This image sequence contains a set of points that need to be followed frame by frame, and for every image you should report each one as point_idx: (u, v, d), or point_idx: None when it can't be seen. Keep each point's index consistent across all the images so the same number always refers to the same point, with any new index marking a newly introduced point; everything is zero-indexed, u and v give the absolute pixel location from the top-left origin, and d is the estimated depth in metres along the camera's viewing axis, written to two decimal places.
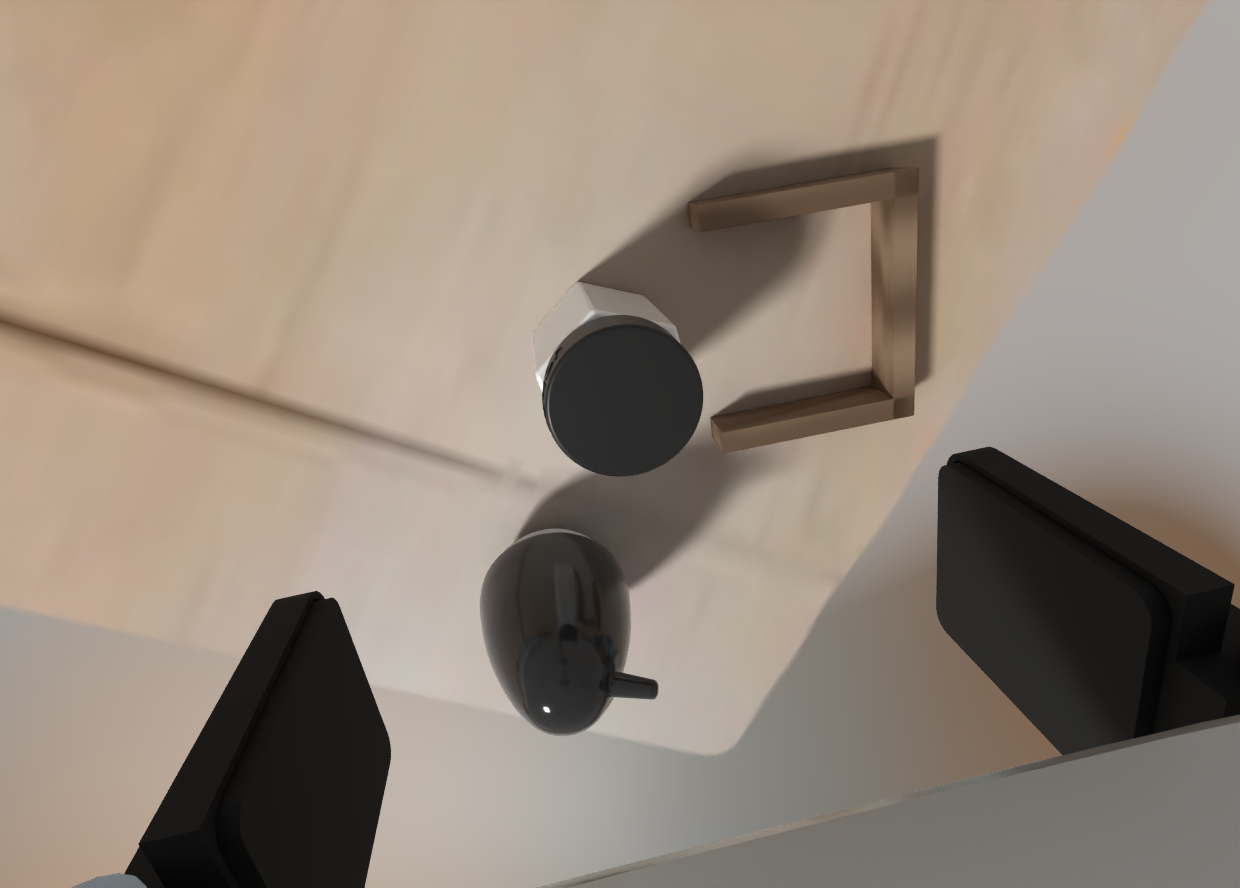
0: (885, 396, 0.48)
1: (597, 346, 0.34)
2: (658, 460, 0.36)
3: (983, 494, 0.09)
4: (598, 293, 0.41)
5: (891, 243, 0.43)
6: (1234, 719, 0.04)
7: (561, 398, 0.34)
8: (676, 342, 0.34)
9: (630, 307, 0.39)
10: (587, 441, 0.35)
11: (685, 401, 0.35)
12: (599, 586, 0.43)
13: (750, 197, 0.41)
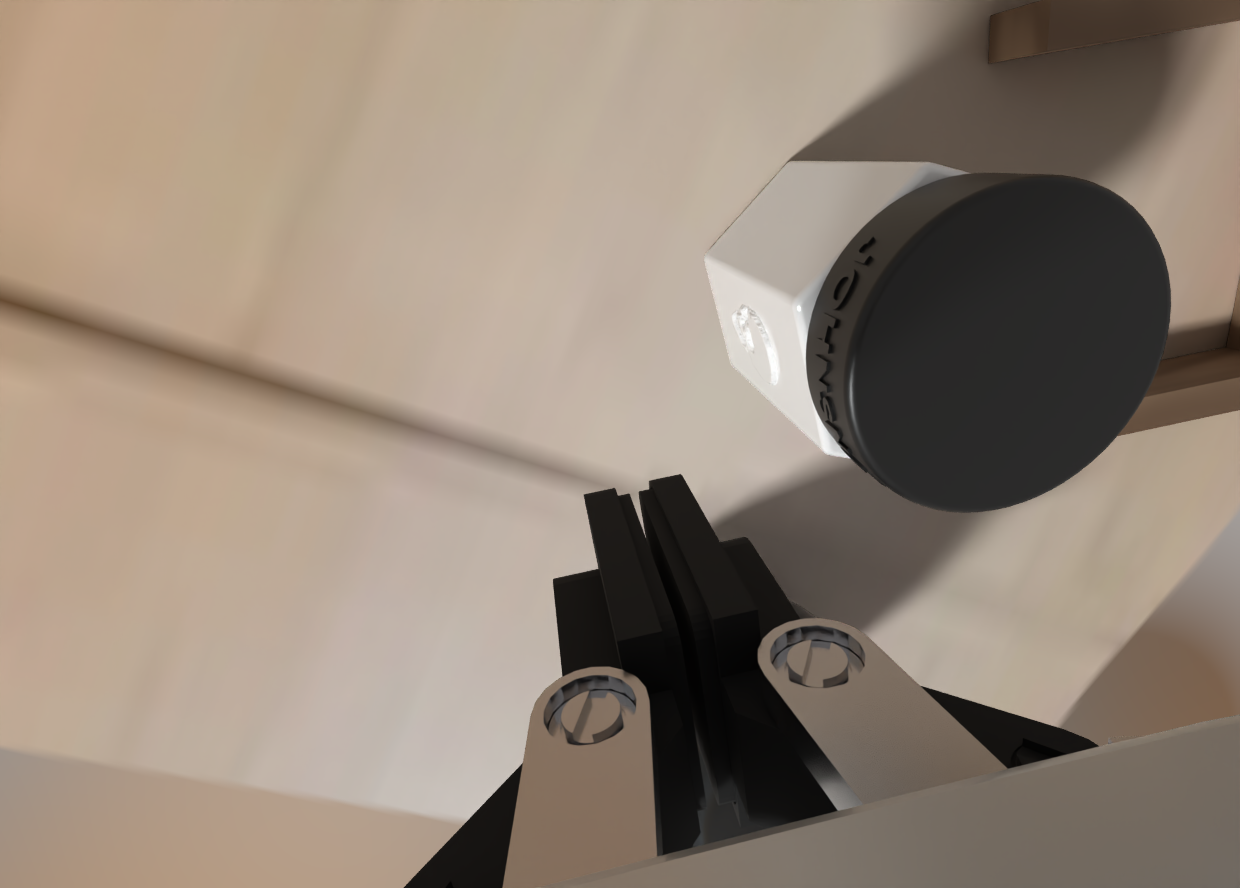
0: None
1: (982, 226, 0.15)
2: (1049, 479, 0.18)
3: (650, 520, 0.10)
4: None
5: None
6: (1234, 719, 0.04)
7: (886, 347, 0.16)
8: (1144, 220, 0.15)
9: None
10: (921, 441, 0.17)
11: (1132, 354, 0.17)
12: None
13: None
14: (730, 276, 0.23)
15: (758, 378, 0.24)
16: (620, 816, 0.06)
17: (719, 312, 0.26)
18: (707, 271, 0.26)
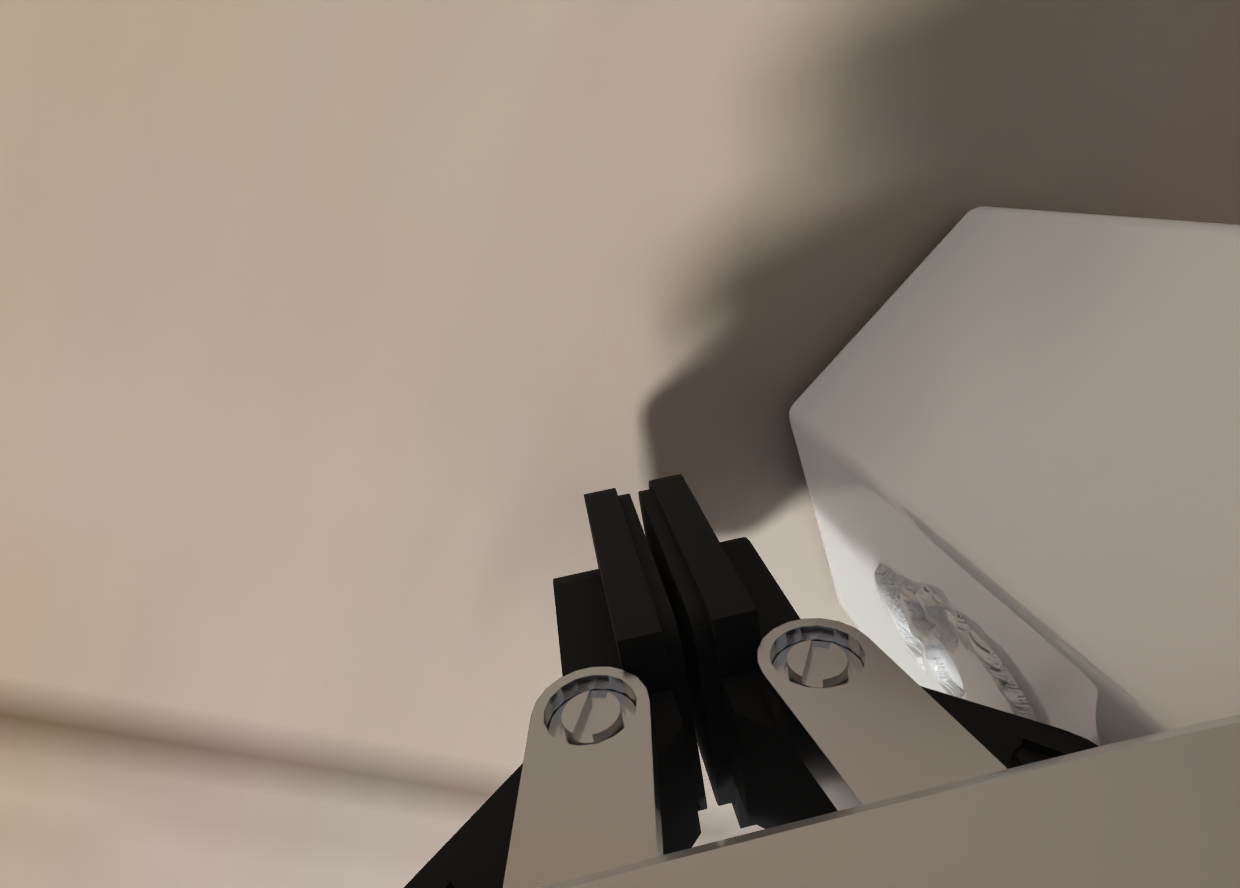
0: None
1: None
2: None
3: (650, 520, 0.10)
4: None
5: None
6: (1234, 719, 0.04)
7: None
8: None
9: None
10: None
11: None
12: None
13: None
14: (886, 507, 0.09)
15: None
16: (621, 816, 0.06)
17: (822, 520, 0.13)
18: (797, 441, 0.12)
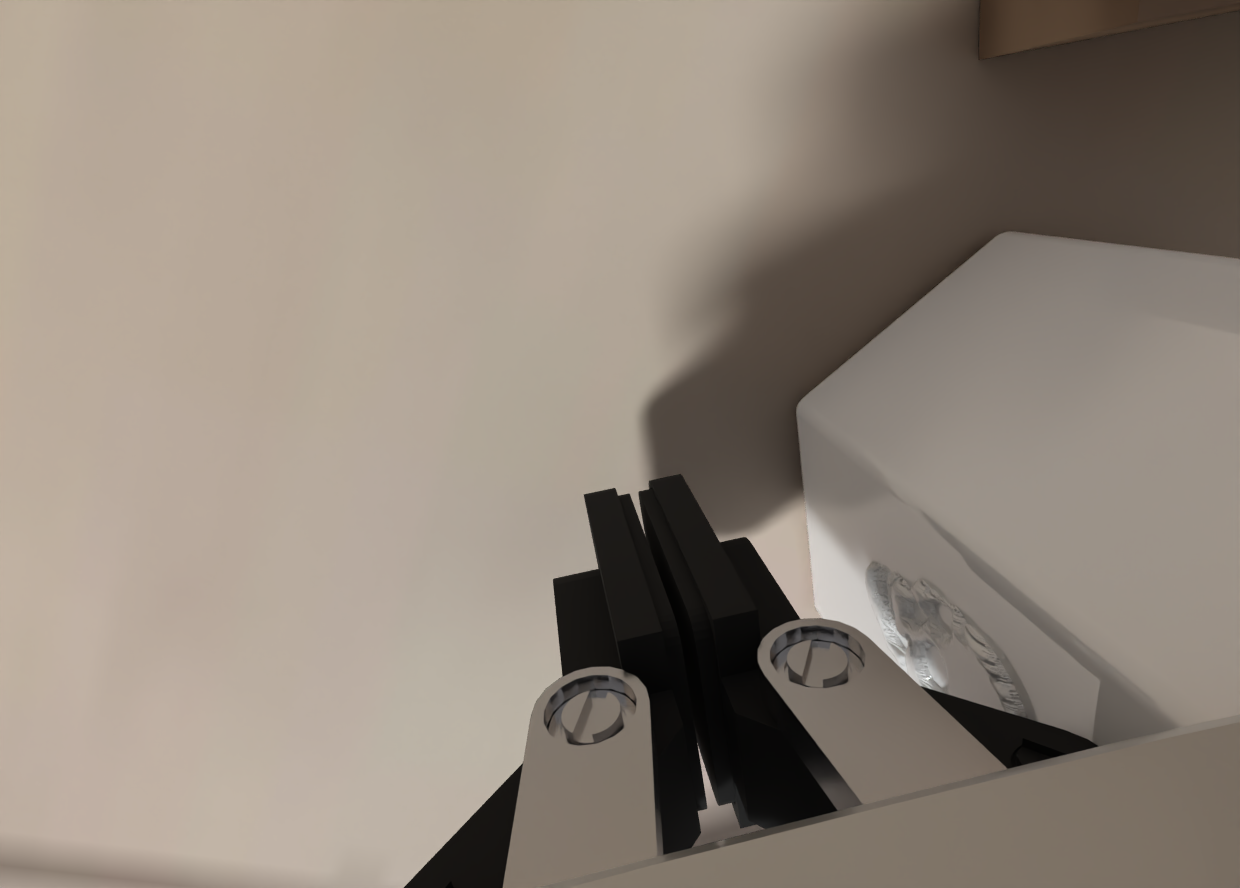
0: None
1: None
2: None
3: (650, 520, 0.10)
4: None
5: None
6: (1234, 719, 0.04)
7: None
8: None
9: None
10: None
11: None
12: None
13: None
14: (892, 499, 0.09)
15: None
16: (621, 816, 0.06)
17: (813, 519, 0.13)
18: (801, 436, 0.12)
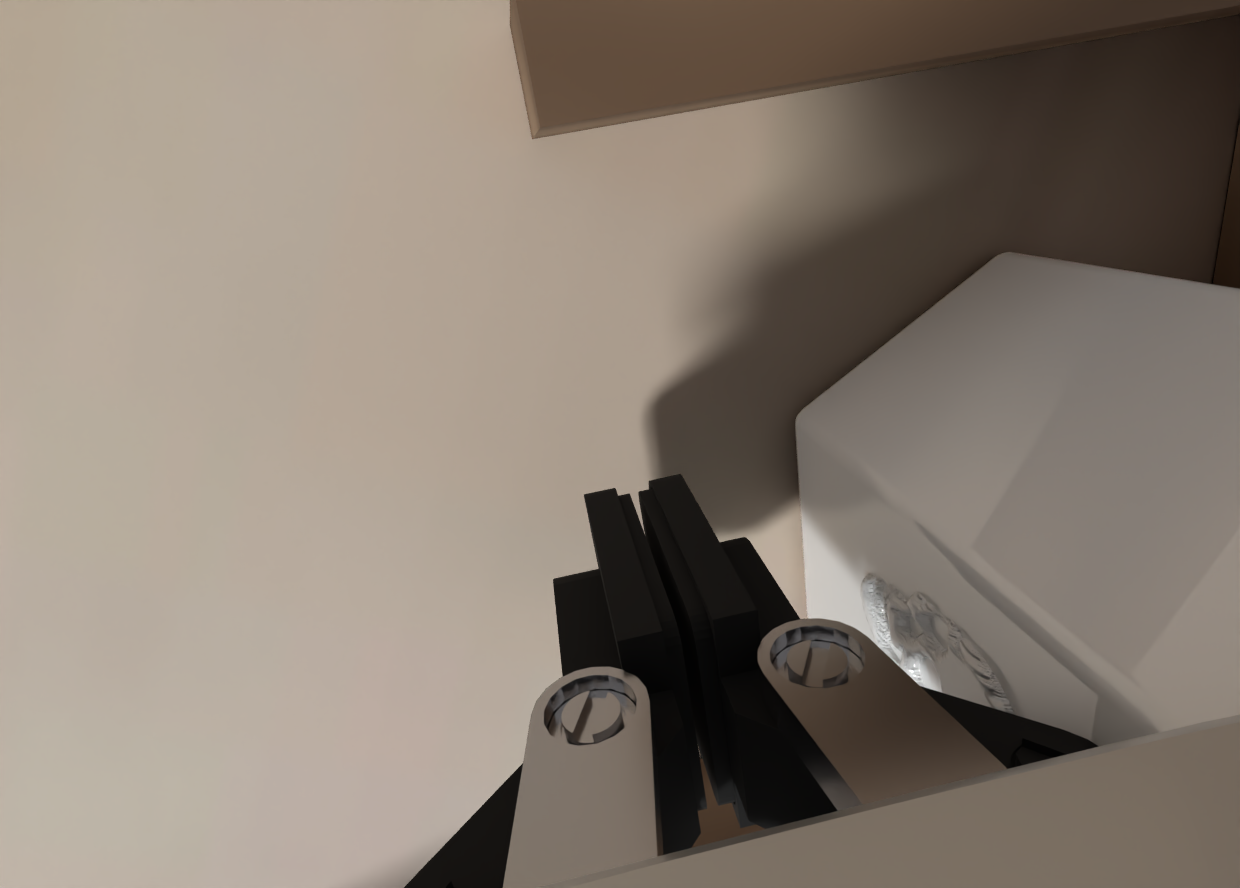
0: None
1: None
2: None
3: (650, 520, 0.10)
4: None
5: None
6: (1235, 719, 0.04)
7: None
8: None
9: None
10: None
11: None
12: None
13: None
14: (891, 513, 0.09)
15: None
16: (620, 816, 0.06)
17: (809, 530, 0.13)
18: (799, 447, 0.13)
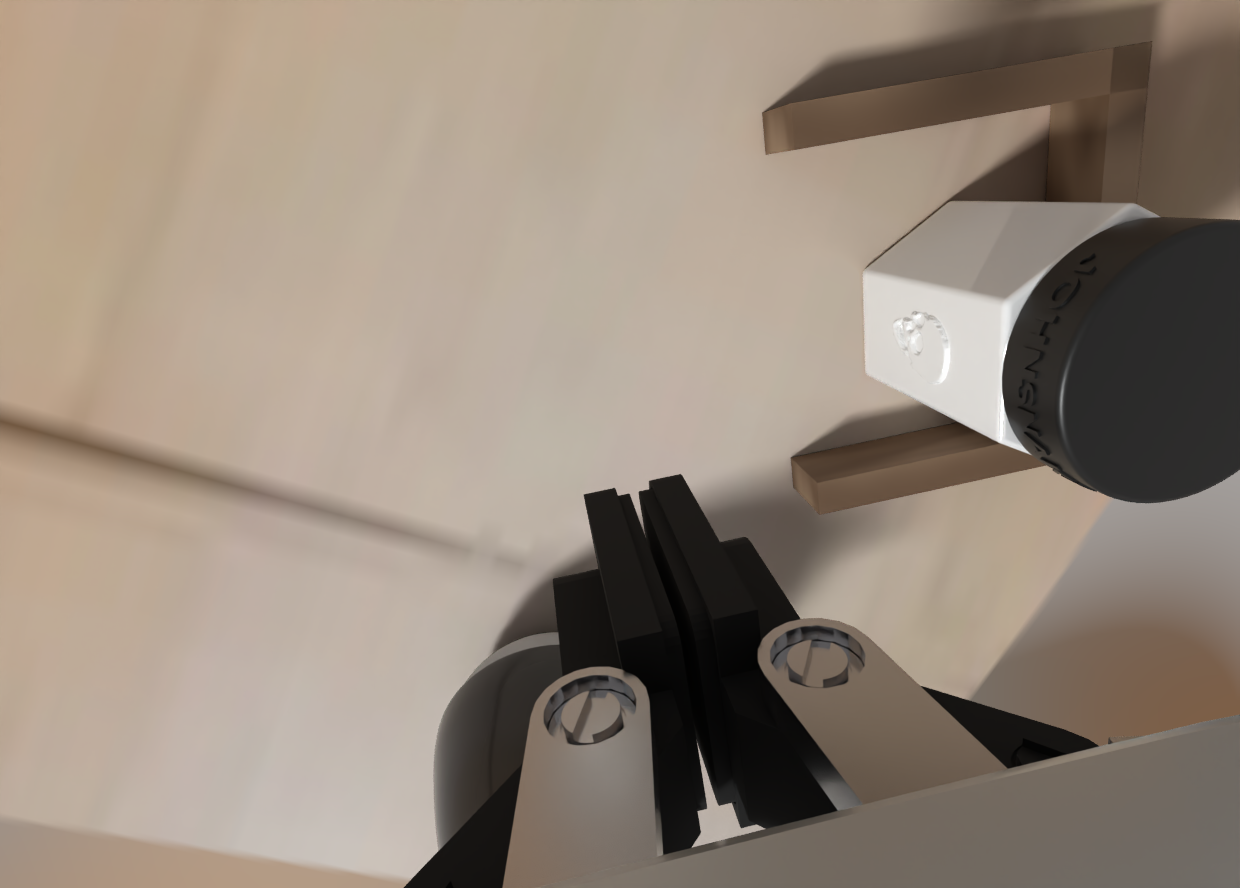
0: None
1: (1198, 253, 0.18)
2: (1200, 482, 0.21)
3: (651, 520, 0.10)
4: None
5: (1095, 173, 0.27)
6: (1235, 719, 0.04)
7: (1102, 342, 0.19)
8: None
9: None
10: (1110, 430, 0.20)
11: None
12: None
13: (875, 90, 0.24)
14: (904, 286, 0.26)
15: (911, 380, 0.27)
16: (620, 816, 0.06)
17: (868, 322, 0.29)
18: (864, 284, 0.29)
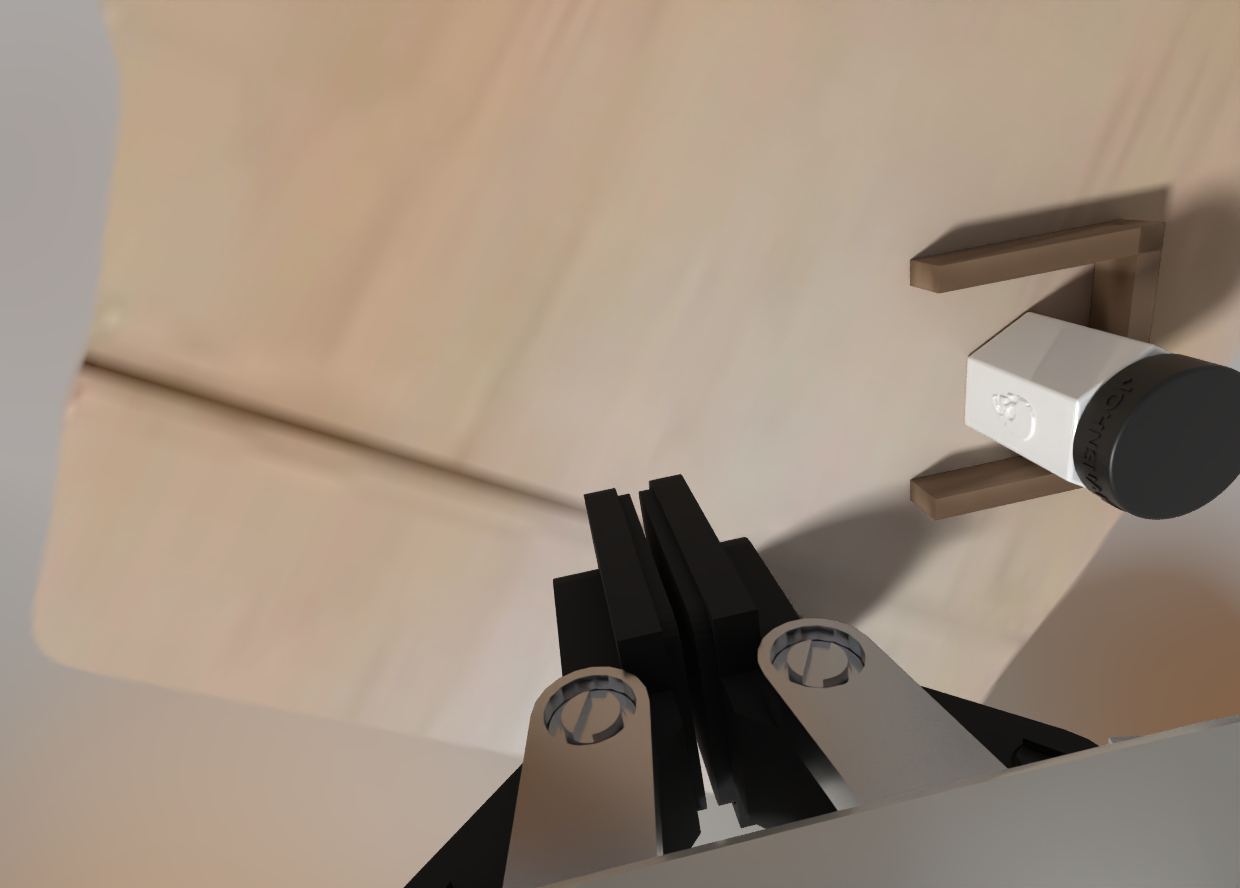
0: None
1: (1190, 384, 0.33)
2: (1189, 507, 0.35)
3: (651, 520, 0.10)
4: None
5: (1126, 300, 0.41)
6: (1234, 719, 0.04)
7: (1136, 431, 0.33)
8: None
9: None
10: (1138, 479, 0.34)
11: (1239, 452, 0.34)
12: None
13: (991, 256, 0.38)
14: (1002, 375, 0.40)
15: (1004, 434, 0.41)
16: (620, 816, 0.06)
17: (970, 391, 0.44)
18: (968, 366, 0.43)
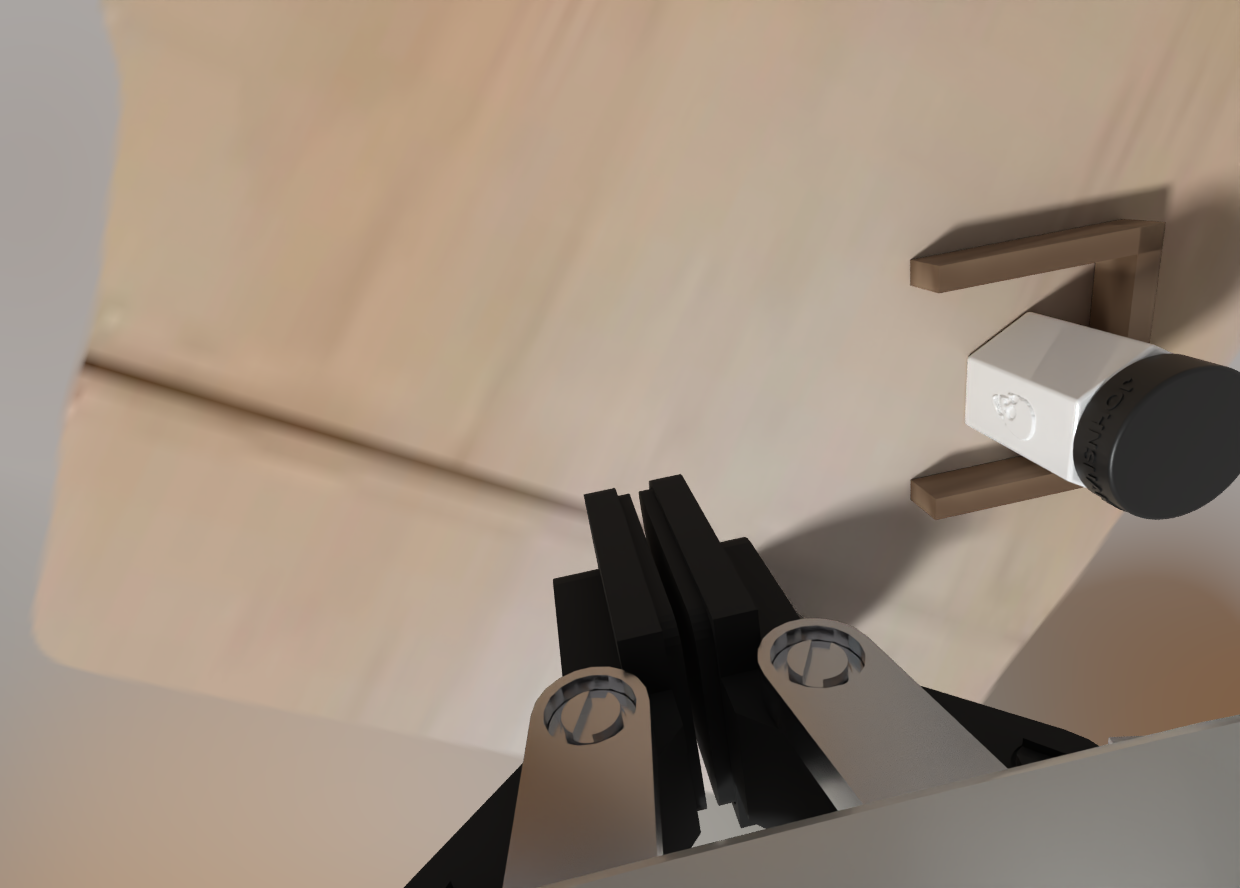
0: None
1: (1190, 384, 0.33)
2: (1189, 507, 0.35)
3: (651, 520, 0.10)
4: None
5: (1126, 300, 0.41)
6: (1235, 718, 0.04)
7: (1136, 431, 0.33)
8: None
9: None
10: (1138, 479, 0.34)
11: (1239, 451, 0.34)
12: None
13: (991, 256, 0.38)
14: (1003, 375, 0.40)
15: (1004, 434, 0.41)
16: (620, 816, 0.06)
17: (970, 391, 0.44)
18: (969, 366, 0.43)
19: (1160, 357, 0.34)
